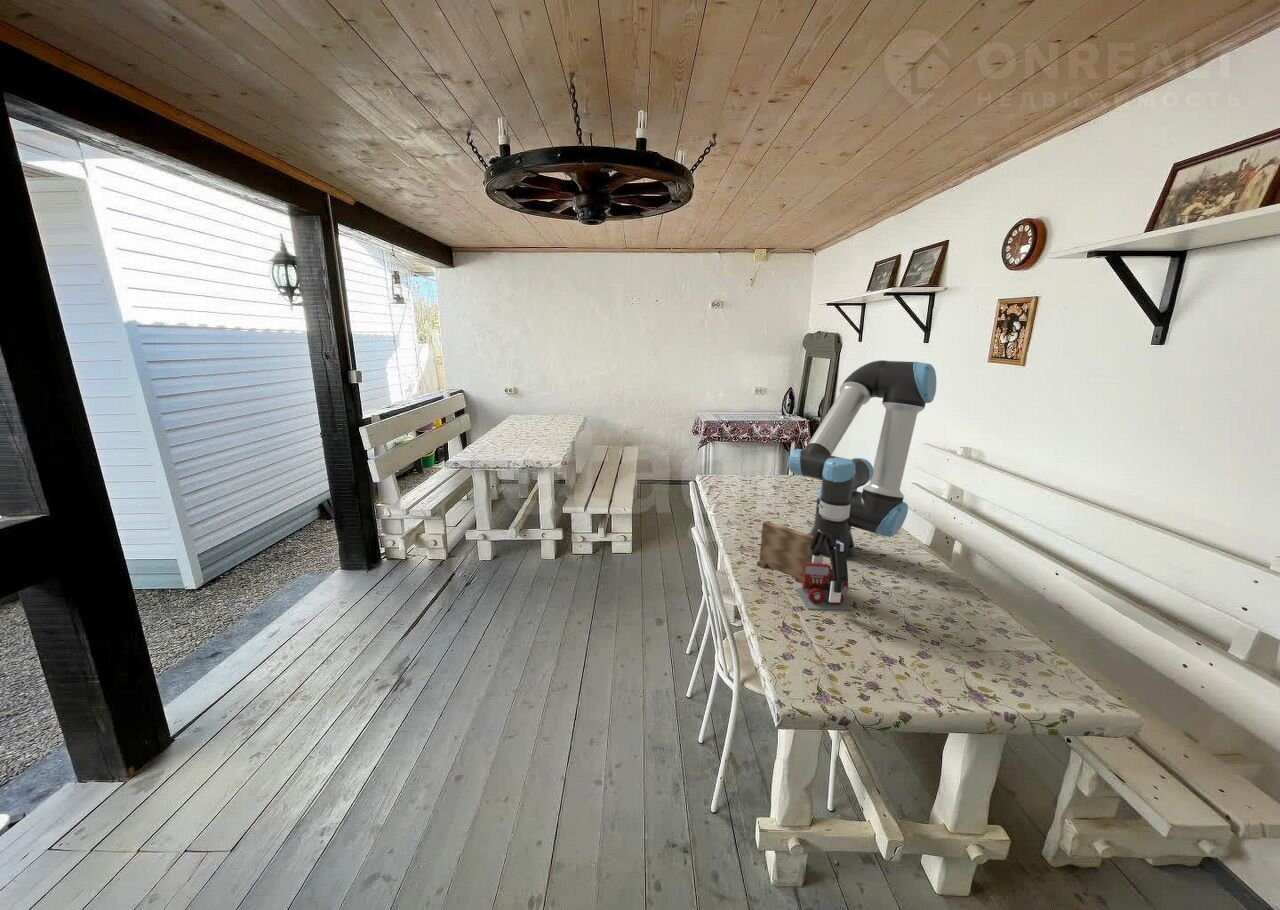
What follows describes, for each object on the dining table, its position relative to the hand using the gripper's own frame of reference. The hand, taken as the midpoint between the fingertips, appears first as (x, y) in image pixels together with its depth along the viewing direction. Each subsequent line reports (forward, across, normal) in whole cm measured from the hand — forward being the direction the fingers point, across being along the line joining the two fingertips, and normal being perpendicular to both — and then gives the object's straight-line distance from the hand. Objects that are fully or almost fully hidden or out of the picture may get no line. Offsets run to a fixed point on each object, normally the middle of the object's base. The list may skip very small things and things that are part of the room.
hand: (824, 588), depth 129 cm
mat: (+3, 0, 0) cm, 3 cm away
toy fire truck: (+3, 0, 0) cm, 3 cm away
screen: (+3, -16, -6) cm, 18 cm away
